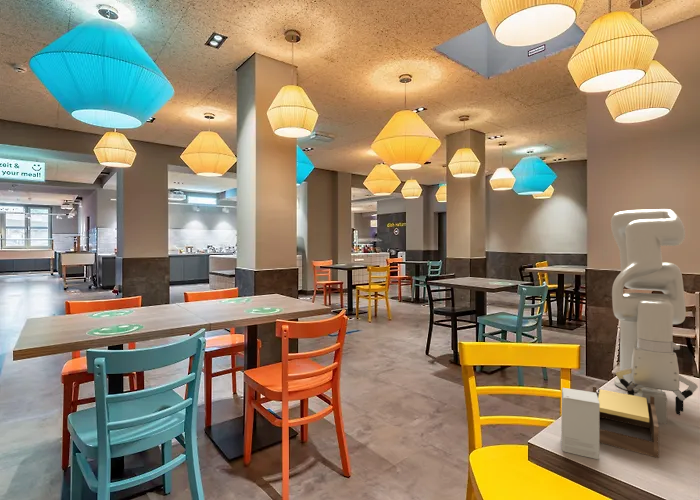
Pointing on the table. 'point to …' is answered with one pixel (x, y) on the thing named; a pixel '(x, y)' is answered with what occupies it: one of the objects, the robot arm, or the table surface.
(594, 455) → the supplement box
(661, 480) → the table surface
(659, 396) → the plain grey carton
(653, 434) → the trapdoor frame
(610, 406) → the trapdoor
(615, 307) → the robot arm
